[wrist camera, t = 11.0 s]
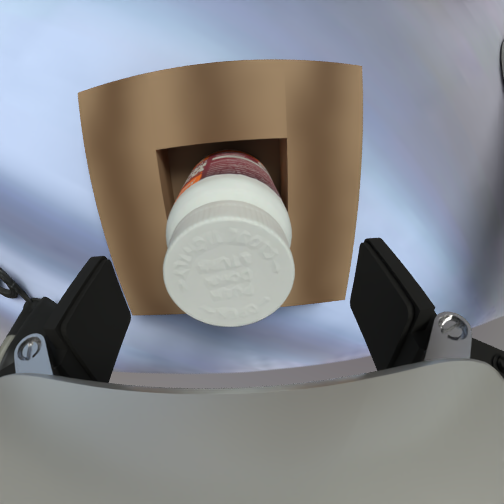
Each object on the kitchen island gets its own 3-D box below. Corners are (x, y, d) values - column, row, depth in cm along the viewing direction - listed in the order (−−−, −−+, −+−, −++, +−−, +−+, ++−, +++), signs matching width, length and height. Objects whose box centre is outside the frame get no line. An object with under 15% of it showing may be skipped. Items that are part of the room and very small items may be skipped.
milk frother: (83, 358, 31) (51, 450, 18) (-1, 317, 27) (-44, 389, 14) (80, 281, 25) (16, 398, 12) (-18, 236, 21) (-90, 312, 8)
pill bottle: (194, 142, 18) (149, 189, 9) (279, 156, 19) (329, 217, 10) (184, 221, 21) (149, 325, 12) (262, 232, 22) (284, 340, 12)
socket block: (339, 71, 17) (361, 66, 13) (331, 273, 26) (344, 299, 22) (102, 92, 16) (77, 92, 13) (143, 287, 25) (132, 315, 22)
